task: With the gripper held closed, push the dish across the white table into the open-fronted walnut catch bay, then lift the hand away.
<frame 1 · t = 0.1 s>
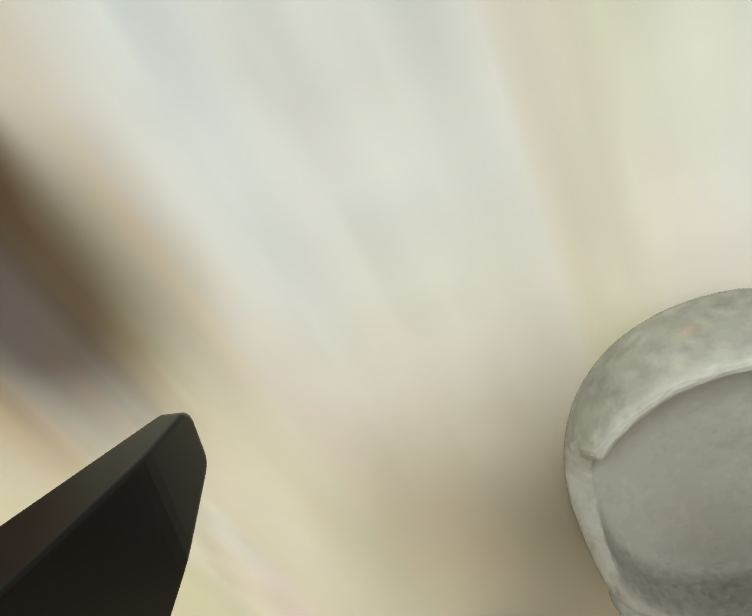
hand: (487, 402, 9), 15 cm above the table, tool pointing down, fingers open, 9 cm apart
dish: (710, 419, 27), on the table
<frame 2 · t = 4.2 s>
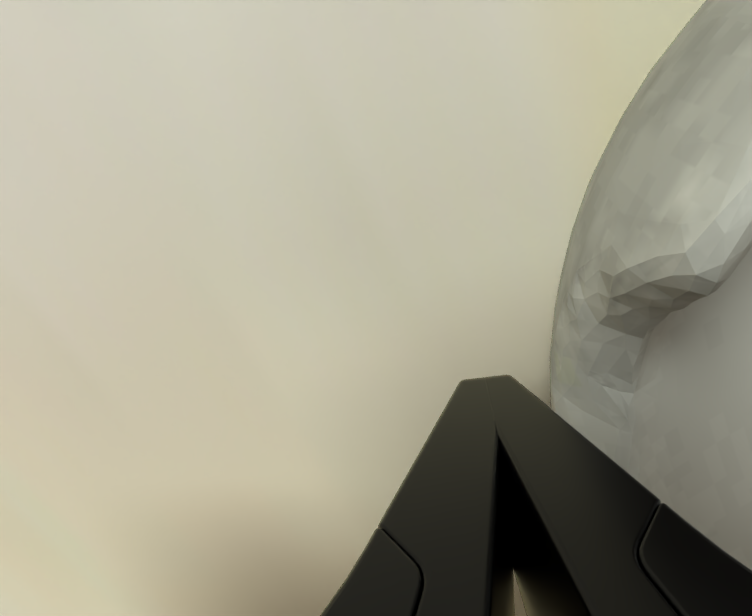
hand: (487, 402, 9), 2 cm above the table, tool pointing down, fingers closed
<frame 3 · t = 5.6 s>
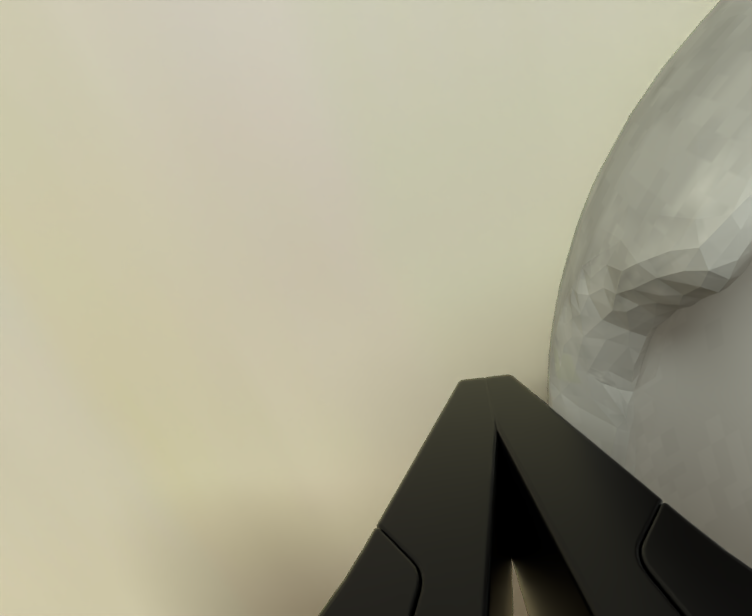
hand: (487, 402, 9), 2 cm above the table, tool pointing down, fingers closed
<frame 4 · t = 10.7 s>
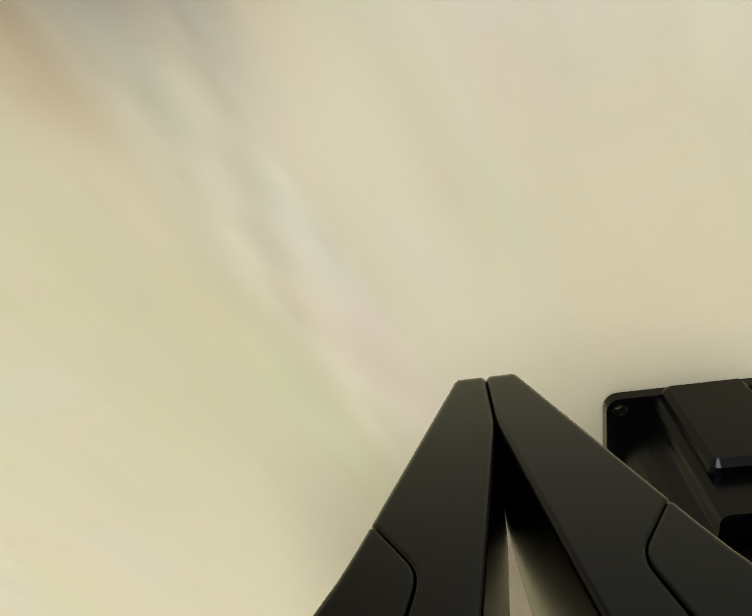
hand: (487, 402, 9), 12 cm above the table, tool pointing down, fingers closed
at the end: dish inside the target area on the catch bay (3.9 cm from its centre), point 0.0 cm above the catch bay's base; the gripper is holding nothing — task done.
